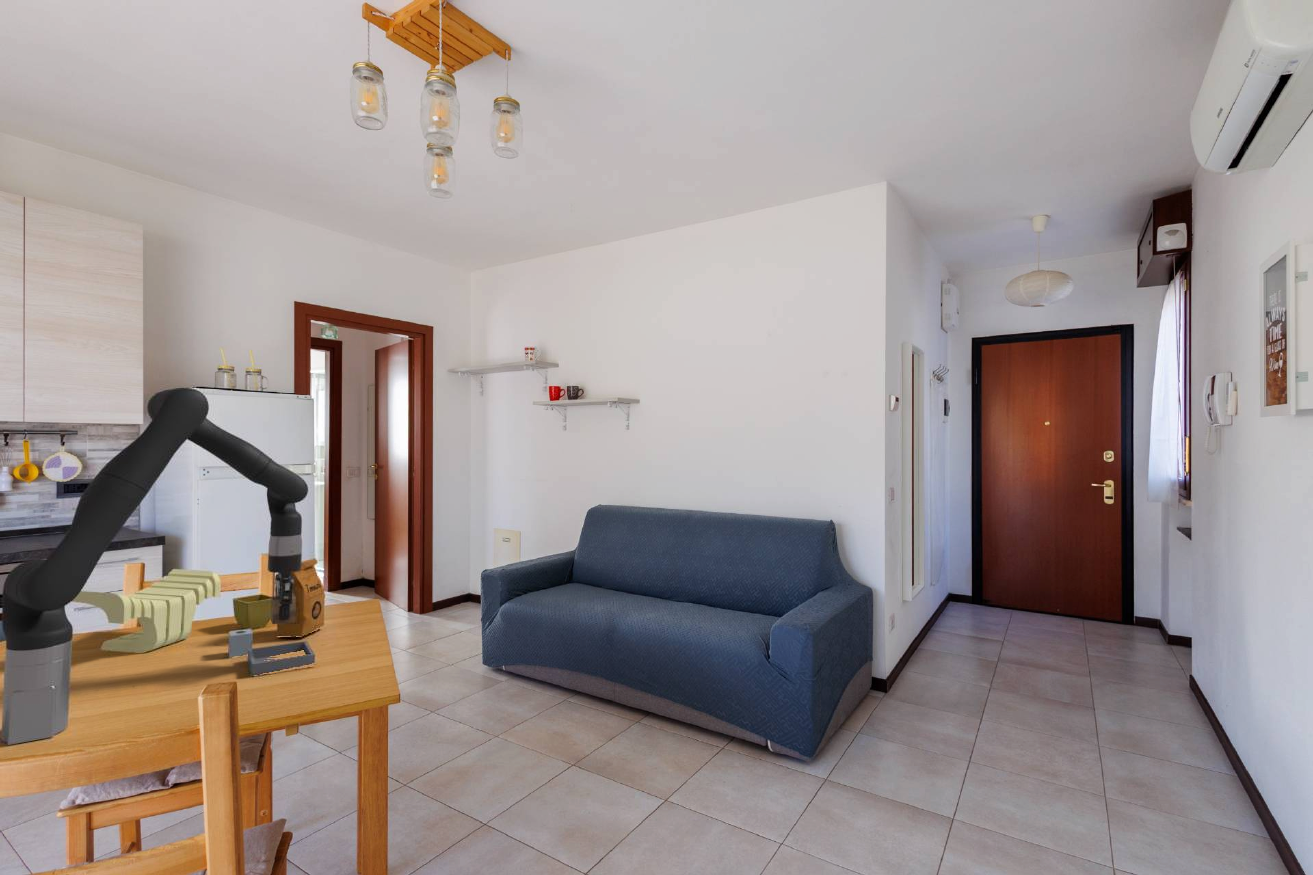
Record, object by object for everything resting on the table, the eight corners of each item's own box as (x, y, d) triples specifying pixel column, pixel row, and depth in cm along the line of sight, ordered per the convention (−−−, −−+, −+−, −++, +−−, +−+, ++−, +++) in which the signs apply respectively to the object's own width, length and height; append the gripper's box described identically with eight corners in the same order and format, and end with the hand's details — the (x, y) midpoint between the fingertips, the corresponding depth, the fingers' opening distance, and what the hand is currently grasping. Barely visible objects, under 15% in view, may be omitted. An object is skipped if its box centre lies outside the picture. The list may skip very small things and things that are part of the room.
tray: (314, 667, 161) (314, 654, 161) (251, 677, 153) (252, 664, 153) (306, 652, 172) (306, 640, 172) (247, 661, 163) (247, 648, 164)
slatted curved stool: (121, 664, 158) (125, 594, 159) (66, 659, 160) (70, 590, 161) (218, 631, 188) (221, 571, 188) (171, 627, 190) (173, 568, 190)
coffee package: (329, 629, 193) (332, 558, 194) (301, 641, 181) (304, 565, 181) (300, 627, 195) (303, 556, 195) (270, 638, 182) (273, 563, 183)
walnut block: (295, 621, 162) (296, 596, 162) (272, 624, 159) (273, 599, 159) (292, 616, 166) (293, 592, 166) (270, 619, 163) (271, 595, 163)
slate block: (251, 655, 168) (252, 633, 168) (229, 658, 165) (230, 635, 165) (250, 650, 172) (251, 628, 172) (228, 653, 169) (229, 631, 169)
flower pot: (260, 621, 199) (262, 593, 199) (275, 626, 195) (277, 597, 195) (230, 627, 192) (231, 598, 192) (245, 632, 187) (246, 602, 187)
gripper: (305, 555, 159) (303, 622, 159) (297, 547, 171) (295, 609, 170) (271, 557, 155) (268, 626, 154) (265, 549, 166) (263, 613, 166)
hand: (282, 617), depth 162 cm, fingers closed on walnut block, 5 cm apart
